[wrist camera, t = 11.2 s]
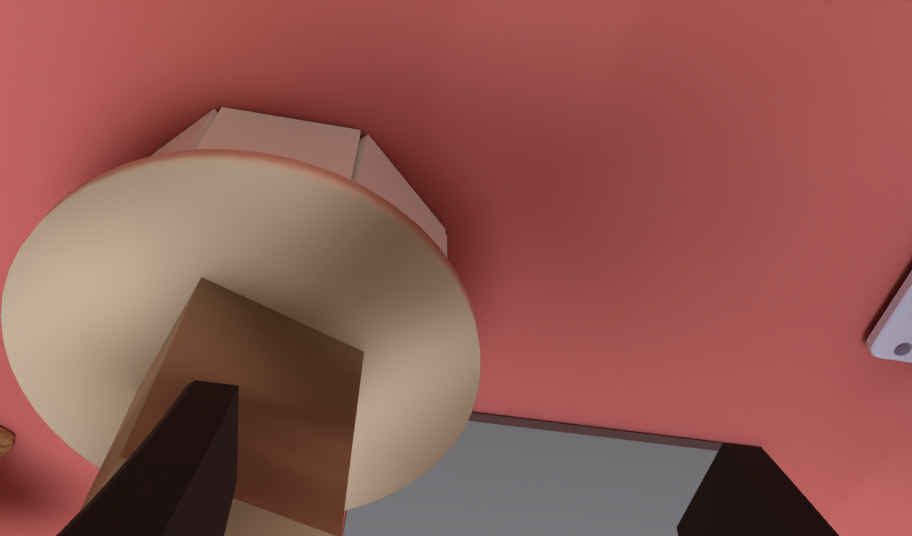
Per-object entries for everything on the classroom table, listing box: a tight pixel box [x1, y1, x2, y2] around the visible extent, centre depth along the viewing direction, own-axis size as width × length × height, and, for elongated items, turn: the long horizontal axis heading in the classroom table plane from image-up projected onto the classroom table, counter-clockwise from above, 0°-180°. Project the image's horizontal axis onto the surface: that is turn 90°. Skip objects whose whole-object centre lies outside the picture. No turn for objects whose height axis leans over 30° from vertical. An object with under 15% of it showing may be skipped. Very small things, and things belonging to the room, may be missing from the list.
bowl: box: [151, 107, 447, 257], centre depth 20 cm, size 9×9×4 cm
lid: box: [1, 149, 480, 536], centre depth 16 cm, size 11×11×6 cm
